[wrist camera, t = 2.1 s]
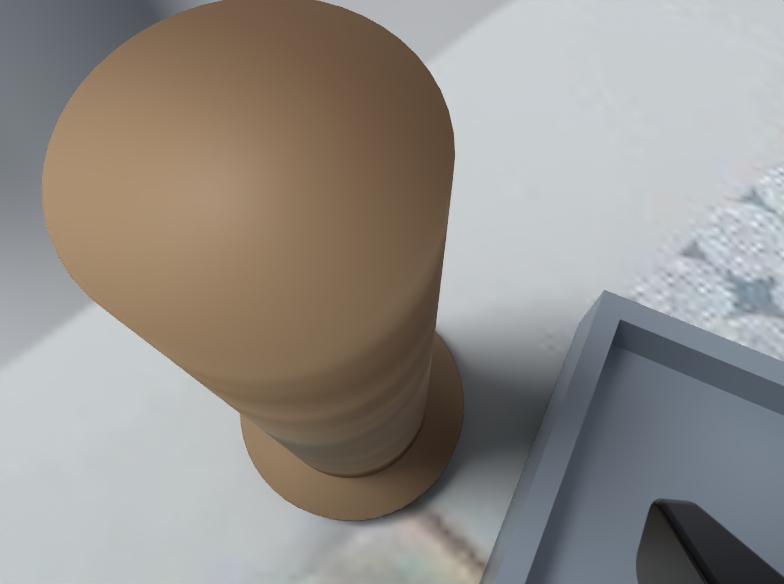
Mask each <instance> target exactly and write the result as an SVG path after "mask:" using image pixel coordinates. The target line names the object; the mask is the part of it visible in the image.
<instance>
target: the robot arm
mask: <svg viewBox="0 0 784 584" xmlns="http://www.w3.org/2000/svg"><path fill="white" fill-rule="evenodd" d="M636 575H637V581H638V584H784V576H783V575H782V574H780V573H779V572H778V571H777V570H776V569H774V568H773V567H772V566H771V565H770V564H768V563H767V562H766V561H765V560H764V559H762V558H761V557H760V556H759V555H758V554H756V553H755V552H754V551H753V550H752V549H750V548H749V547H748V546H747V545H746V544H744V543H743V542H742V541H741V540H740V539H738V538H737V537H736V536H735V535H734V534H732V533H731V532H730V531H729V530H728V529H726V528H725V527H724V526H723V525H722V524H720V523H719V522H718V521H717V520H716V519H714V518H713V517H712V516H711V515H710V514H708V513H707V512H706V511H705V510H704V509H702V508H701V507H700V506H698V505H697V504H696V503H694V502H691V501H685V500H674V499H664V498H659V499H656V500H654V501H653V502H652V504H651V505H650V508H649V510H648V514H647V518H646V521H645V525H644V529H643V532H642V536H641V540H640V543H639V547H638V551H637V555H636Z"/></svg>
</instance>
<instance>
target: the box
mask: <svg viewBox="0 0 784 584" xmlns="http://www.w3.org/2000/svg"><path fill="white" fill-rule="evenodd" d="M659 498H664V499H674V500H685V501H691V502H694V503H696V504H697V505H698V506H700V507H701V508H702V509H704V510H705V511H706V512H707V513H708V514H710V515H711V516H712V517H713V518H714V519H716V520H717V521H718V522H719V523H720V524H722V525H723V526H724V527H725V528H726V529H728V530H729V531H730V532H731V533H732V534H734V535H735V536H736V537H737V538H738V539H740V540H741V541H742V542H743V543H744V544H746V545H747V546H748V547H749V548H750V549H752V550H753V551H754V552H755V553H756V554H758V555H759V556H760V557H761V558H762V559H764V560H765V561H766V562H767V563H768V564H770V565H771V566H772V567H773V568H774V569H776V570H777V571H778V572H779V573H780V574H782V575H783V576H784V362H783V361H780V360H778V359H775V358H773V357H770V356H768V355H765V354H763V353H760V352H758V351H755V350H753V349H750V348H748V347H745V346H743V345H740V344H738V343H735V342H733V341H730V340H728V339H725V338H723V337H720V336H718V335H715V334H713V333H710V332H708V331H705V330H703V329H700V328H698V327H695V326H693V325H690V324H688V323H686V322H683V321H681V320H678V319H676V318H673V317H671V316H668V315H666V314H663V313H661V312H658V311H656V310H653V309H651V308H648V307H646V306H643V305H641V304H638V303H636V302H633V301H631V300H628V299H626V298H623V297H621V296H618V295H616V294H613V293H611V292H608V291H606V290H604V292H603V293H602V294H601V295H600V297H599V298H598V299H597V301H596V302H595V303H594V305H593V306H592V307H591V308H590V310H589V311H588V312H587V314H586V315H585V316H584V318H583V319H582V320H581V321H580V324H579V326H578V329H577V331H576V334H575V337H574V339H573V342H572V344H571V347H570V350H569V352H568V355H567V357H566V360H565V363H564V365H563V368H562V370H561V373H560V376H559V378H558V381H557V383H556V386H555V389H554V391H553V394H552V396H551V399H550V402H549V404H548V407H547V410H546V412H545V415H544V417H543V420H542V423H541V425H540V428H539V430H538V433H537V436H536V438H535V441H534V443H533V446H532V449H531V451H530V454H529V456H528V459H527V462H526V464H525V467H524V469H523V472H522V475H521V477H520V480H519V482H518V485H517V488H516V490H515V493H514V496H513V498H512V501H511V503H510V506H509V509H508V511H507V514H506V516H505V519H504V522H503V524H502V527H501V529H500V532H499V535H498V537H497V540H496V542H495V545H494V548H493V550H492V553H491V555H490V558H489V561H488V563H487V566H486V569H485V571H484V574H483V576H482V579H481V582H480V584H638V581H637V575H636V555H637V551H638V547H639V543H640V540H641V536H642V532H643V529H644V525H645V521H646V518H647V514H648V510H649V508H650V505H651V504H652V502H653V501H654V500H656V499H659Z"/></svg>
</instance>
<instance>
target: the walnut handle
mask: <svg viewBox="0 0 784 584" xmlns="http://www.w3.org/2000/svg"><path fill="white" fill-rule="evenodd" d="M454 160H455V148H454V132H453V128H452V123H451V119H450V114H449V110H448V108H447V105H446V103H445V100H444V98H443V95H442V93H441V90H440V88H439V87H438V85H437V83H436V82H435V80H434V78H433V76H432V75H431V73H430V71H429V70H428V69H427V68H426V66H425V65H424V64H423V62H422V61H421V60H420V59H419V57H418V56H417V55H416V54H415V53H414V52H413V51H412V50H411V49H410V48H409V47H408V46H407V45H406V44H405V43H404V42H402V41H401V40H400V39H399V38H398V37H396V36H395V35H393V34H392V33H391V32H389V31H388V30H386V29H385V28H384V27H382V26H381V25H379V24H377V23H375V22H373V21H371V20H370V19H368V18H366V17H364V16H362V15H360V14H357V13H355V12H352V11H350V10H347V9H345V8H343V7H339V6H335V5H332V4H329V3H325V2H321V1H316V0H222V1H218V2H214V3H209V4H205V5H201V6H198V7H195V8H192V9H189V10H186V11H183V12H181V13H178V14H175V15H173V16H171V17H169V18H166V19H165V20H162V21H160V22H158V23H156V24H154V25H152V26H150V27H149V28H147V29H145V30H143V31H142V32H140V33H138V34H136V35H135V36H133V37H132V38H131V39H129V40H128V41H126V42H125V43H124V44H122V45H121V46H120V47H118V48H117V49H115V50H114V51H113V52H112V53H111V54H110V55H109V56H107V58H105V59H104V60H103V61H102V62H101V63H100V64H98V65H97V67H96V68H95V69H94V70H93V71H92V72H91V73H90V74H89V75H88V77H87V78H86V79H85V80H84V81H83V82H82V83H81V85H80V86H79V88H78V89H77V90H76V92H75V93H74V94H73V96H72V97H71V99H70V100H69V102H68V103H67V105H66V107H65V109H64V111H63V112H62V114H61V116H60V118H59V120H58V122H57V124H56V127H55V129H54V132H53V134H52V137H51V140H50V142H49V145H48V149H47V154H46V158H45V163H44V168H43V181H42V199H43V211H44V216H45V221H46V225H47V229H48V233H49V236H50V239H51V241H52V243H53V246H54V248H55V250H56V252H57V255H58V257H59V259H60V260H61V262H62V263H63V265H64V266H65V268H66V270H67V271H68V273H69V274H70V276H71V277H72V279H73V280H74V281H75V282H76V283H77V284H78V285H79V286H80V287H81V289H82V290H83V291H84V292H85V293H86V294H87V295H88V296H89V297H90V298H91V299H92V300H94V301H95V302H96V303H97V304H99V305H100V306H101V307H102V308H104V309H105V310H106V311H107V312H109V313H110V314H111V315H112V316H114V317H115V318H116V319H118V320H119V321H120V322H122V323H123V324H124V325H126V326H127V327H128V328H129V329H131V330H132V331H133V332H135V333H136V334H137V335H139V336H140V337H141V338H143V339H144V340H145V341H146V342H148V343H149V344H150V345H152V346H153V347H154V348H156V349H157V350H158V351H160V352H161V353H162V354H163V355H165V356H166V357H167V358H169V359H170V360H171V361H173V362H174V363H175V364H176V365H178V366H179V367H180V368H182V369H183V370H184V371H186V372H187V373H188V374H190V375H191V376H192V377H193V378H195V379H196V380H197V381H199V382H200V383H201V384H203V385H204V386H205V387H207V388H208V389H209V390H210V391H212V392H213V393H214V394H216V395H217V396H218V397H220V398H221V399H222V400H224V401H225V402H226V403H227V404H229V405H230V406H231V407H233V408H234V409H235V410H237V411H238V412H239V413H240V418H241V428H242V433H243V438H244V442H245V445H246V448H247V451H248V454H249V456H250V458H251V460H252V462H253V464H254V466H255V467H256V469H257V470H258V472H259V473H260V475H261V476H262V478H263V479H264V480H265V481H266V482H267V483H268V484H269V485H270V487H271V488H272V489H273V490H274V491H275V492H277V493H278V494H279V495H280V496H282V497H283V498H284V499H285V500H287V501H288V502H290V503H292V504H293V505H295V506H297V507H298V508H301V509H303V510H305V511H308V512H310V513H312V514H316V515H319V516H323V517H326V518H330V519H336V520H344V521H362V520H368V519H374V518H378V517H382V516H385V515H388V514H391V513H393V512H395V511H398V510H400V509H402V508H404V507H406V506H407V505H409V504H410V503H412V502H413V501H415V500H417V499H418V498H419V497H420V496H421V495H422V494H424V493H425V492H426V491H427V490H428V489H429V488H430V487H431V486H432V485H433V484H434V482H435V481H436V480H437V479H438V478H439V476H440V475H441V473H442V472H443V470H444V469H445V468H446V466H447V464H448V462H449V460H450V458H451V456H452V454H453V452H454V450H455V447H456V444H457V441H458V438H459V436H460V431H461V426H462V422H463V410H464V400H463V388H462V383H461V378H460V375H459V372H458V369H457V366H456V363H455V361H454V359H453V357H452V355H451V353H450V351H449V349H448V348H447V346H446V345H445V343H444V342H443V340H442V339H441V338H440V336H439V335H438V334H437V333H436V332H435V327H436V318H437V310H438V301H439V293H440V284H441V275H442V267H443V258H444V250H445V241H446V233H447V224H448V216H449V207H450V199H451V190H452V181H453V171H454Z"/></svg>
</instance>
